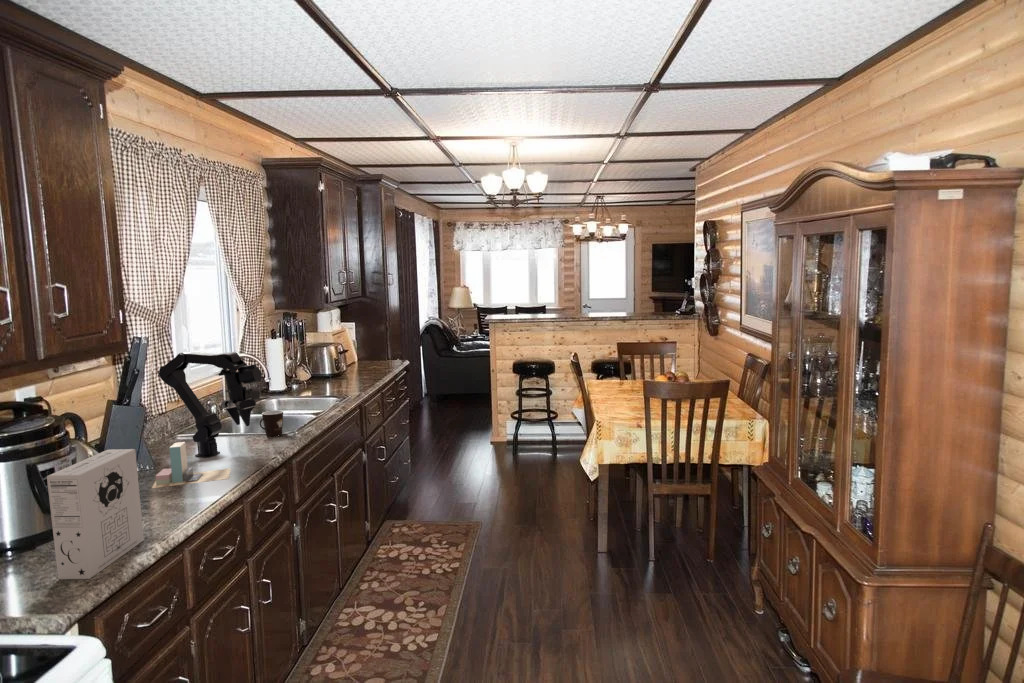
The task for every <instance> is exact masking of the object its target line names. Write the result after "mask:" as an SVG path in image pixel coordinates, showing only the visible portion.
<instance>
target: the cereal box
mask: <svg viewBox="0 0 1024 683" xmlns="http://www.w3.org/2000/svg"><path fill="white" fill-rule="evenodd" d="M136 452H137V451H136V449H134V448H128V449H127V448H125V449H123V448H120V449H117V448H116V449H114V448H112V449H106V450H104V451H101V452H99V453H97V454H95V455H92V456H90V457H88V458H85V459H83V460H81V461H79V462H77V463H74V464H72V465H68V466H67V467H65V468H62V469H60V470H58V471H55V472H53V473H51V474H49V475H47V476H46V480H47V481H46V482H47V489H48V491H47V492H48V500H49V507H50V508H49V509H50V517H51V525H52V534H53V535H52V536H53V543H54V551H55V560H56V561H55V563H56V570H57V579H58V580H90V579H92V578H93V577H94V576H96V575H98V573H100V572H101V571H103V570H104V569H106V567H108V566H110V565H112V564H113V563H114V562H115V561H117V560H118V559H120V558H121V557H123V556H124V555H125V554H127V553H128V552H130V551H131V550H132V549H134V548H136V546H138V545H140V544H141V543H142V542H143V541H145V540H144V539H145V538H144V527H143V516H142V507H141V506H142V505H141V495H140V484H139V476H138V463H137V454H136Z"/></svg>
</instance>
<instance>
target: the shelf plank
mask: <svg viewBox="0 0 1024 683" xmlns="http://www.w3.org/2000/svg"><path fill="white" fill-rule="evenodd" d="M231 470H232V469H231V468H224V469H216V470H215V469H214V470H207V471H199V472H193V474H203V475H202V476H201V477H200V478H199V480H198V481H193V482H185V480H184V481H183V482H178V483H172V482H171V483H170V484H161V485H156V480H155V481H154V483H153V485H152V486H151V489H156V488H165V487H172V486H181V485H182V486H183V485H189V484H197V483H205V482H213V481H214V482H215V481H222V480H229V478H230V475H231V474H230V473H231Z"/></svg>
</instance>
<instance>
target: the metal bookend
mask: <svg viewBox="0 0 1024 683" xmlns="http://www.w3.org/2000/svg"><path fill="white" fill-rule="evenodd" d="M193 473H194V467H193V466H190V467H189V468H188V470H187V471H186V472H185V473H184V479H185V482H193V481H198V480H199V478H200V477H201V476H202V475H203V474H193Z"/></svg>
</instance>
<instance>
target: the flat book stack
mask: <svg viewBox="0 0 1024 683" xmlns="http://www.w3.org/2000/svg"><path fill="white" fill-rule="evenodd" d="M155 481H156V485H161V484H170V483H171V482H172V472H171V467H169V468H162V470H160V471H159V472H158V473H156V475H155Z"/></svg>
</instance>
